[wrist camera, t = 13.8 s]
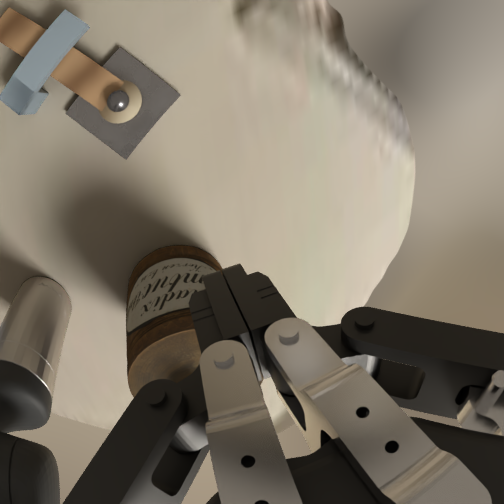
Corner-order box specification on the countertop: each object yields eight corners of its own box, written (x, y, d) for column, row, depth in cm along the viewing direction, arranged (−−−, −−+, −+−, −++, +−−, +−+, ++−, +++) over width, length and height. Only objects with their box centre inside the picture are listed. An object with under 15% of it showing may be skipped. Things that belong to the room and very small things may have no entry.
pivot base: (126, 158, 34) (123, 164, 30) (67, 113, 29) (56, 113, 25) (180, 95, 33) (183, 92, 29) (120, 48, 28) (116, 40, 24)
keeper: (35, 113, 27) (19, 115, 23) (15, 98, 25) (-2, 98, 21) (95, 35, 26) (87, 24, 21) (75, 20, 24) (65, 9, 19)
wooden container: (217, 232, 42) (277, 338, 24) (232, 315, 49) (283, 426, 31) (114, 258, 39) (98, 382, 20) (145, 337, 46) (159, 458, 27)
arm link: (150, 97, 31) (150, 96, 29) (124, 130, 31) (122, 132, 30) (16, 7, 18) (11, 3, 17) (-7, 40, 19) (-14, 37, 17)
